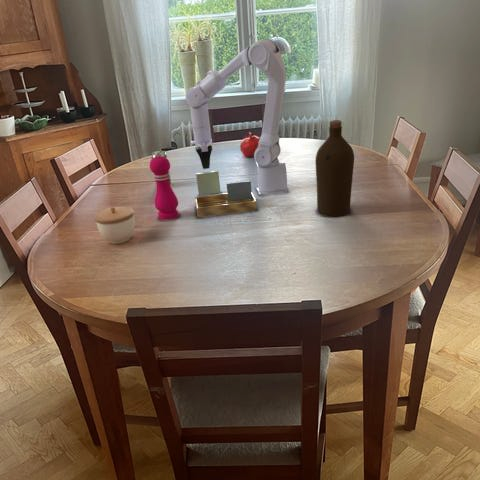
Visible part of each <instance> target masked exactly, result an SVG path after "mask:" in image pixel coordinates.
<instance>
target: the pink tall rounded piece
mask: <svg viewBox="0 0 480 480" xmlns="http://www.w3.org/2000/svg"><path fill="white" fill-rule="evenodd" d="M156 151H157V150H155V151H152V152H151V155H150V156H151V160H152V159H153V158H154V157H156V156H155V152H156ZM159 151H160V152H161V156H163V157H166V158H167V159H168V157H167V152H166V151H165V150H159ZM168 172H170V170H169V171H168ZM169 181H170V185H172V181H171V177H170V178H169Z"/></svg>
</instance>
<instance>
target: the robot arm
mask: <svg viewBox="0 0 480 480" xmlns="http://www.w3.org/2000/svg"><path fill="white" fill-rule="evenodd" d="M250 66H253V67H255V68H257V69H258V70H260V71H261V72H262V73H263V74H264V76H265V77H266V78H267V79H268V81H267V88H266V89H267V91H266V96H265V97H266V98H265V105H264V113H263V121H262V129H261V136H259V138H260V140H259V144H258V148H257V149H256V151H255V153H254V157H253V159H254V161H255V163H256V168H257V184H258V186H256V188H255V189H256V191H257V193H258V195H259V196H265V195H272V194H273V195H274V194H279V193H288V175H287V174H288V172H287V166H286V162H280V160H279V158H278V157H279V156H280V154H281V146H280V136H279V130H280V124H281V123H280V121H281V115H282V108H283V101H284V96H285V95H284V94H285V88H286V81H287V75H288V74H287V73H288V72H287V69H286V66H285V63H284V60H283V58H282V52H281V48H280V47H279V45H278V44H277V43H276V42H275V41H274V40H273V39H270V38H265V39H263V40H260V41H255V42H253V43H252V44H251V45H250V46H247V47H246V48H244V49H243V50H241V51H240V52H239V53H238V54H237V55H236V56H234V57H233V59H231V60H230V61H229V62H227V64H226V65H225V66H224V67H222V68H221V69H220V70H217V69H213V70H209V71H208V72H206V76H205V77H204V78H202V79H201V80H198V81H197V82H195V85H196V86H192V87H189V88H188V90H187V92H186V93H185V101H186V103H187V105H188V106H189V108H190V109H189V111H190V117H191V119H190V120H191V126H192V132H193V140H191V141H190V144H191V145H195V146H196V147H195V152H196V153H197V155H198V157H199V160H200V163H201V166H202V169H203V170H207V169H210V168H211V167H210V166H211V155H212V152H213V144H212V143H213V139H212V132H211V124H210V115H209V114H210V113H209V105H208V104H209V101H210V100H211V99H212V98H213V97H214V96H216V95H217V94H219V92H221V91H222V90H223V89H224V88H226V83H227V80H228V79H230V78H232V76H234V75H235V74H236V73H238V72H239V71H240V70H241V69H243V68H245V67H250Z"/></svg>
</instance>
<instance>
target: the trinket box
mask: <svg viewBox="0 0 480 480" xmlns="http://www.w3.org/2000/svg"><path fill="white" fill-rule="evenodd" d="M134 214H135V213H134V209H132V207H128V206H111V207H108V208H104V209H102V210H100V211H98V212H96V213H95V215H94V217H93V218H94V222H95V223H96V227H97V230H98V231H99V232H98V233H100V235H101V236H102V237H103V238H104V239H105V240H107V241H108V242H109V243H111V244H122V243H126V242H128V241H129V240H130V239H131V237H132V236H133V234H134V232H135V228H136V221H135V217H134Z"/></svg>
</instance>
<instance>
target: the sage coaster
mask: <svg viewBox="0 0 480 480" xmlns="http://www.w3.org/2000/svg"><path fill="white" fill-rule="evenodd" d="M195 176H196V177H195V178H196V184H197V192H198V196H205V195H213V194H221V193H222V191H221V183H220V174H219V170H214V171H213V170H212V171H206V172H205V171H204V172H197V173H196V172H195Z"/></svg>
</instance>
